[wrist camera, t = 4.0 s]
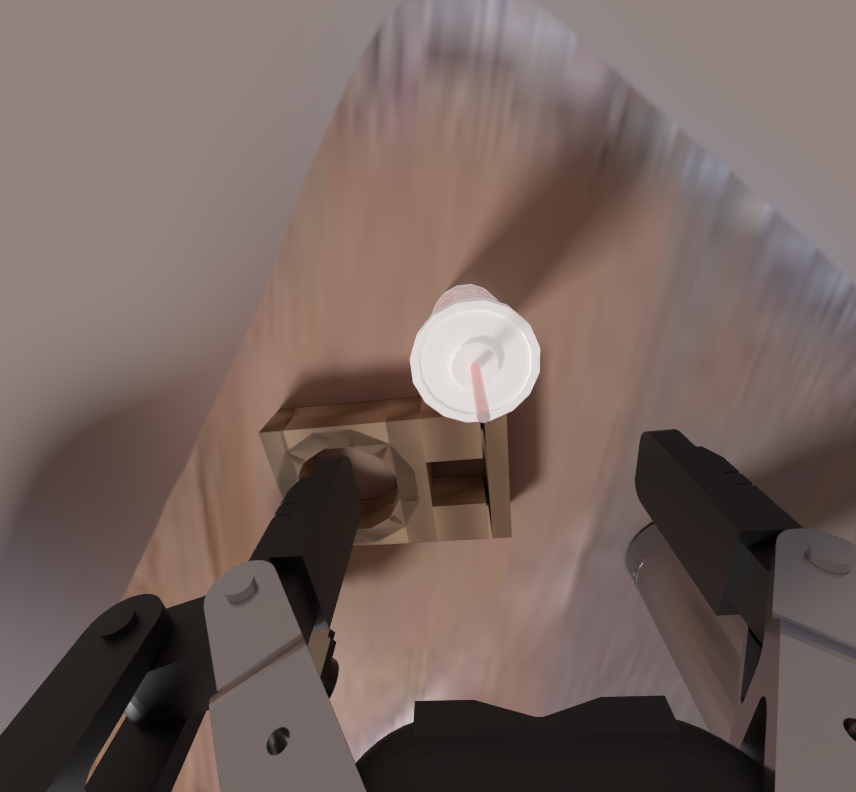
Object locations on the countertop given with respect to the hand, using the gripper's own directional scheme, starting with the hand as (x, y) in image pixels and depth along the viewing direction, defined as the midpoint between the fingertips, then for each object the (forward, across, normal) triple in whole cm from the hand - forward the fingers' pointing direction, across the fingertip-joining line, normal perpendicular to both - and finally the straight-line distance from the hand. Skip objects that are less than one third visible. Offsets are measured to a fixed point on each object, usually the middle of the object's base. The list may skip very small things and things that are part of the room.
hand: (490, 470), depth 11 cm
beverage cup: (+17, 0, 0) cm, 17 cm away
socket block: (+17, +6, +11) cm, 21 cm away
